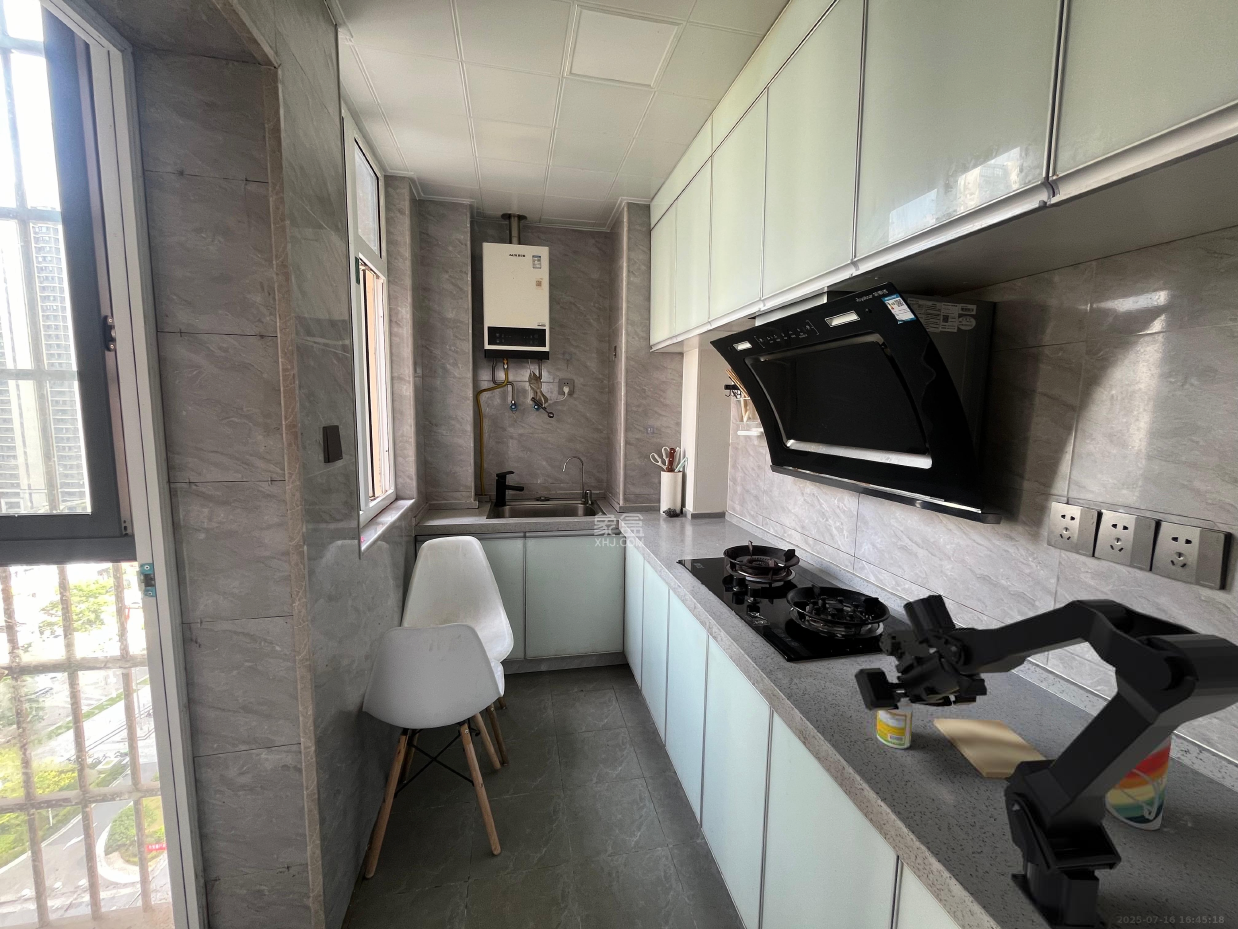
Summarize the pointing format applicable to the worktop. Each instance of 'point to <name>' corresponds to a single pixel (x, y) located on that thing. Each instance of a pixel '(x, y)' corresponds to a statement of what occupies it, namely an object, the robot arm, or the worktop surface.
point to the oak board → (988, 745)
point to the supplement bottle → (895, 725)
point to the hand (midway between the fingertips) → (890, 700)
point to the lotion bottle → (1142, 790)
